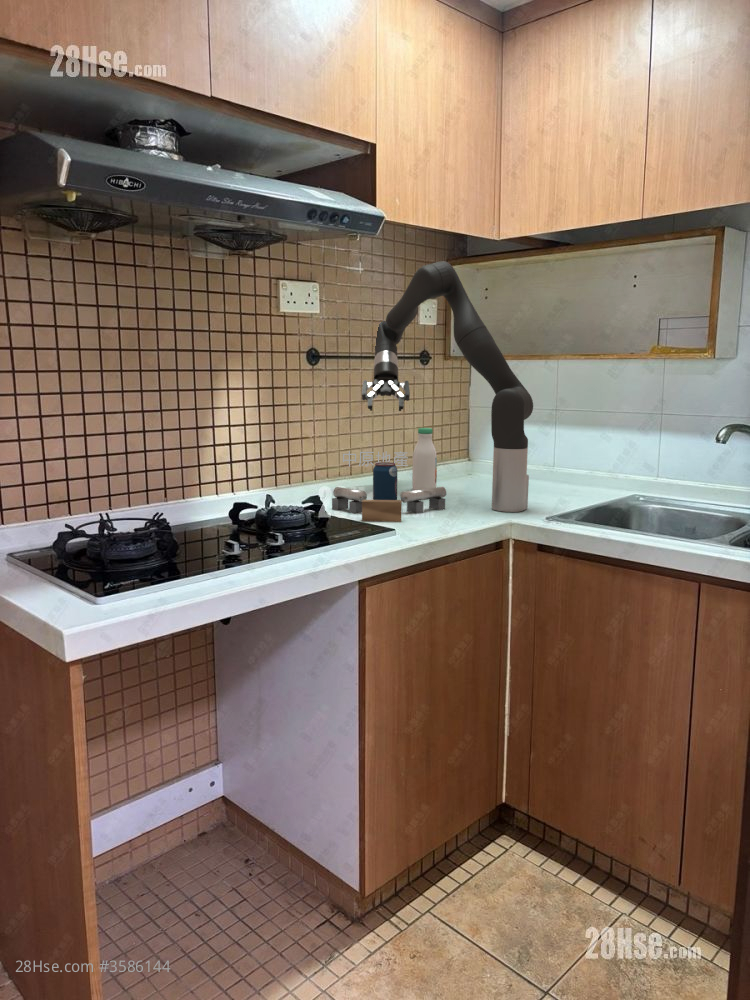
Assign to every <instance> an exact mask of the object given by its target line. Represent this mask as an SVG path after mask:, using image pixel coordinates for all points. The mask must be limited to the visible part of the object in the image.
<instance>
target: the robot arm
mask: <svg viewBox="0 0 750 1000" xmlns="http://www.w3.org/2000/svg"><path fill="white" fill-rule="evenodd" d="M442 296H443V297H444V299H446V301H447V303H448V305H449V307H450V309H451V311H452V313H453V315H452V316H453V338H454V341H455V343H456V345H457V347H458V349H459V350H460V352H461V354H462V355H463V357H464V358H465V360H466V361H467V363H469V364H470V366H471V367H472V368H473V369H474V370H475V371H476V372H477V373H478V374H479V375H481V376H482V377H483V378H484V380H486V382H487V383H488V384H489V386H490V387H491V389H492V391H493V392H494V393H495V395H494V397H493V400H492V402H491V413H490V414H491V416H490V417H491V419H490V421H491V423H490V424H491V425H490V426H491V437H492V440H493V454H492V455H493V456H492V457H493V458H492V459H493V460H492V482H491V483H492V484H491V485H492V486H491V510H494V511H497V512H507V513H516V512H517V513H518V512H523V510H524V511H525V510H527V508H529V505H528V504H529V485H530V484H529V483H530V481H529V480H530V475H529V474H528V472H527V471H528V452H529V451H528V449H529V439H528V437H527V436H526V434H525V421H526V420H527V419H528V418H530V416H531V415H532V413H533V410H534V402H533V398H532V395H531V394H530V393H529V391H528V390H527V389H526V387H525V386H524V385H523V383H522V382H521V381H520V380H519V378H518V377H517V376H516V375H515V373H514V372H513V370H512V369H511V367H510V366H509V364H508V362H507V360H506V358H505V356H504V355H503V353H502V351H501V350H500V348H499V346H498V345H497V343H496V341H495V339H494V337H493V335H492V334H491V333H490V331H489V329H488V327H487V326H486V325H485V323H484V322H483V320H482V319H481V317H480V315H479V313H478V312H477V310H476V309H475V306H474V305H473V303H472V302H471V300H470V298H469V296H468V293H467V292H466V290H465V287H464V285H463V283H462V281H461V279H460V277H459V275H458V273H457V272H456V269H455V268H454V266H452V264H450V262H448V261H444V260H442V261H441V260H440V261H437V262H434V263H433V262H432V263H428V264H425V265H423V266H420V267H419V268H418V269H417V270H416V272H415V273H414V275H413V276H412V278H411V279H410V282H409V283H408V285H407V287H406V289H405V291H404V292H403V294H402V296H401V297H400V299H399V300H398V301H397V302H396V304H395V305H394V306H393V307H392V308H391V309H390V310H389V312H388V313H387V314H386V318H385V320H386V321H383V322H381V323H380V324H379V327H378V331H377V338H376V346H375V349H374V360H373V381H371V382H370V381H369V382H368V380H367V379H364V380H363V381H362V388H361V400H362V401H365V400H366V402H367V409H368V410H369V411H370V412H372V411H373V401H374V400H375V399H377V398H378V397H379V396H380V397H384V396H386V397H387V396H388V397H391V396H392V397H393V398H394V399H396V400H398V412H402V410H404V406H405V405H404V404H405V403H404V402H405V401H406V402H407V401H410V397H411V396H410V395H411V393H410V391H411V390H410V384H409V383H410V382H409V380H405V381H404V382H400V381H399V361H398V347H397V345H398V344H399V343H400V342H401V340H402V337H403V335H404V332H405V330H406V328H407V327H408V326H409V325H410V324H411V323H412V322H413V321H414V320H415V318H417V316H418V312H419V306H420V305H422V304H423V303H424V302H426V301H428V300H430V299H432V300H433V299H437V298H440V297H442ZM370 388H371V391H370V392H369V393H368V391H369V390H370ZM400 388H401V389H402V391H404V393H402V391H401V390H400Z"/></svg>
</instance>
